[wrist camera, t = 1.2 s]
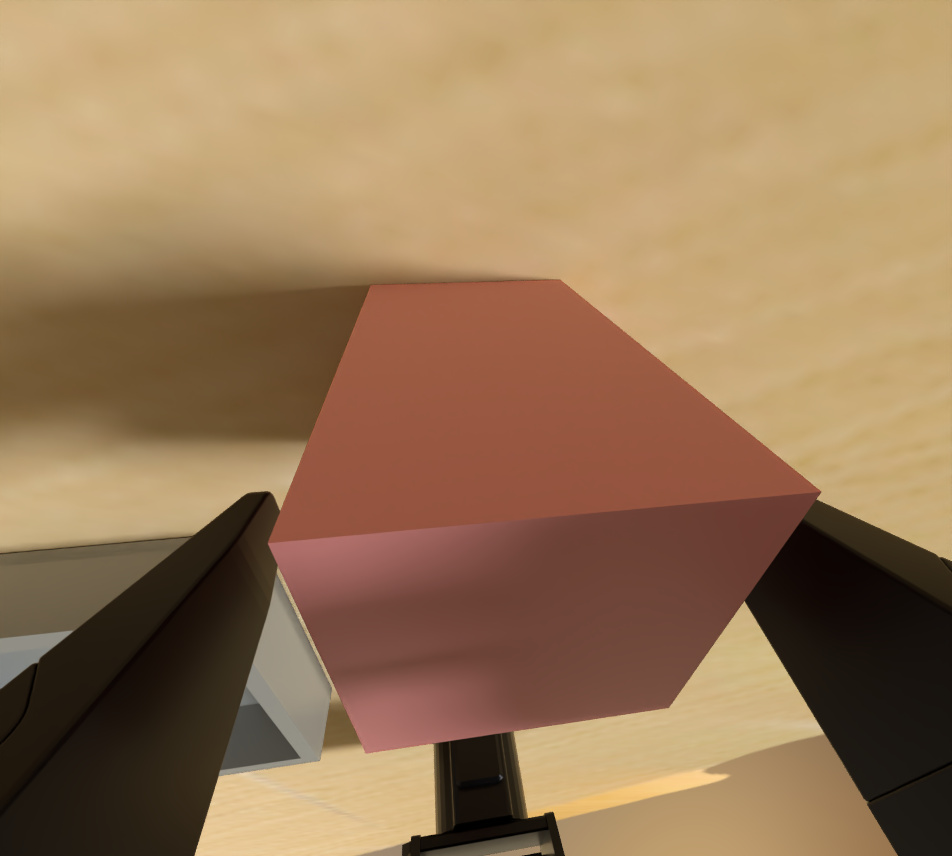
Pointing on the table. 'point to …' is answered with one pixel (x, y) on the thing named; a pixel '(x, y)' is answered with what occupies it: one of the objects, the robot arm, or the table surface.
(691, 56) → the table surface
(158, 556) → the bin
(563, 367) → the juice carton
